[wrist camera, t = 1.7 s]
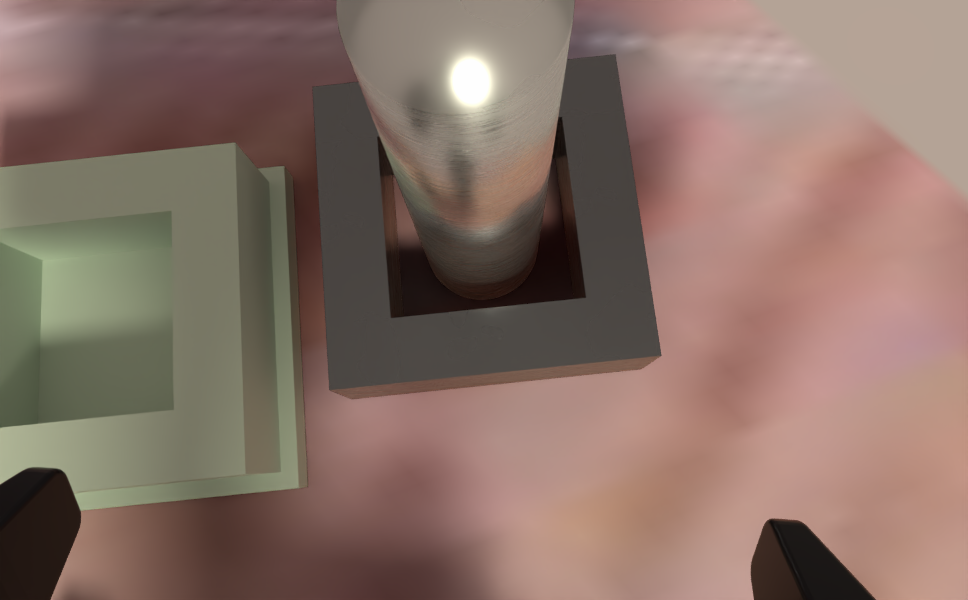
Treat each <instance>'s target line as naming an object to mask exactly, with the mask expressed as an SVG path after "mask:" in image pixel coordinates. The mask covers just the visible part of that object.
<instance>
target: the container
mask: <svg viewBox="0 0 968 600" xmlns="http://www.w3.org/2000/svg"><path fill="white" fill-rule="evenodd" d="M30 467H45V468H57V469H61V470H62V471H63V472H64V473H66V475H67V477H68V480H69V482H70V485H71V487H72V490H73V492H74V495H75V498H76V500H77V503H78V505H79V508H80V511H82V510H92V509H101V508H111V507H121V506H130V505H140V504H150V503H160V502H169V501H179V500H189V499H198V498H208V497H218V496H228V495H237V494H247V493H257V492H266V491H276V490H286V489H296V488H304V487H308V479H307V458H306V437H305V417H304V396H303V375H302V354H301V334H300V313H299V292H298V271H297V250H296V230H295V209H294V188H293V177H292V175H291V174H290V173H289V171H288V170H287V169H286V168H285V166H277V167H267V168H257V167H256V166H255V165H254V164H253V163H252V161H251V160H250V159H249V158H248V157H247V156H246V154H245V153H244V152H243V151H242V150H241V149H240V147H239V146H238V145H237V144H236V143H235V142H234V143H225V144H216V145H206V146H197V147H187V148H178V149H169V150H159V151H150V152H140V153H131V154H122V155H112V156H103V157H93V158H84V159H75V160H65V161H56V162H46V163H37V164H28V165H18V166H9V167H0V484H1V483H3V482H5V481H6V480H8V479H9V478H11V477H13V476H14V475H16V474H17V473H19V472H21V471H23V470H24V469H27V468H30Z"/></svg>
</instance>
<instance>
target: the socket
mask: <svg viewBox="0 0 968 600" xmlns="http://www.w3.org/2000/svg"><path fill="white" fill-rule="evenodd" d="M313 105H314V123H315V141H316V159H317V177H318V195H319V213H320V231H321V249H322V267H323V285H324V303H325V321H326V339H327V357H328V374H329V390H330V391H333V392H335V393H338V394H340V395H343V396H345V397H348V398H350V399H359V398H368V397H378V396H387V395H397V394H407V393H416V392H426V391H436V390H445V389H455V388H465V387H474V386H484V385H493V384H503V383H513V382H522V381H532V380H542V379H551V378H561V377H571V376H580V375H590V374H599V373H609V372H619V371H628V370H638V369H642V368H644V367H645V366H647V365H648V364H650V363H651V362H653V361H654V360H656V359H657V358H659V357H660V356H661V350H660V343H659V337H658V330H657V324H656V317H655V311H654V304H653V298H652V291H651V284H650V278H649V271H648V265H647V258H646V252H645V245H644V239H643V232H642V226H641V219H640V213H639V206H638V200H637V193H636V186H635V180H634V173H633V167H632V160H631V154H630V147H629V141H628V134H627V128H626V121H625V115H624V108H623V102H622V95H621V88H620V82H619V75H618V69H617V62H616V56H615V55H605V56H596V57H587V58H577V59H568V60H567V62H566V69H565V76H564V82H563V89H562V95H561V102H560V108H559V115H558V122H557V128H556V135H555V141H554V148H553V154H552V158H555V159H556V167H557V175H558V182H559V190H560V198H561V206H562V213H563V221H564V229H565V236H566V244H567V252H568V260H569V267H570V275H571V283H572V290H573V298H574V299H569V300H560V301H550V302H541V303H531V304H522V305H512V306H502V307H493V308H483V309H474V310H464V311H455V312H445V313H435V314H426V315H416V316H407V317H404V314H403V301H402V288H401V276H400V263H399V250H398V238H397V225H396V212H395V200H394V187H393V175H394V172H393V169H392V167H391V164H390V162H389V159H388V157H387V154H386V151H385V149H384V146H383V144H382V141H381V139H380V136H379V134H378V131H377V128H376V126H375V123H374V121H373V118H372V116H371V113H370V110H369V108H368V105H367V103H366V100H365V98H364V95H363V93H362V90H361V87H360V85H359V82H353V83H344V84H334V85H325V86H315V87H313Z"/></svg>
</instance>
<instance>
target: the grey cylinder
mask: <svg viewBox="0 0 968 600" xmlns="http://www.w3.org/2000/svg"><path fill="white" fill-rule="evenodd" d="M574 4H575V0H337V4H336V14H337V21H338V28H339V31H340V35H341V38H342V41H343V44H344V46H345V49H346V52H347V54H348V57H349V59H350V62H351V64H352V67H353V69H354V72H355V75H356V77H357V80H358V82H359V85H360V87H361V90H362V93H363V95H364V98H365V100H366V103H367V105H368V108H369V110H370V113H371V116H372V118H373V121H374V123H375V126H376V128H377V131H378V134H379V136H380V139H381V141H382V144H383V146H384V149H385V151H386V154H387V157H388V159H389V162H390V164H391V167H392V169H393V172H394V175H395V177H396V180H397V182H398V185H399V187H400V190H401V192H402V195H403V198H404V200H405V203H406V205H407V208H408V210H409V213H410V216H411V218H412V221H413V223H414V226H415V228H416V231H417V233H418V236H419V239H420V241H421V244H422V246H423V249H424V251H425V254H426V257H427V259H428V262H429V264H430V267H431V269H432V271H433V273H434V274H435V276H436V277H437V278H438V280H439V281H440V282H441V283H442V284H443V285H444V286H445V287H446V288H448V289H449V290H451V291H452V292H454V293H456V294H458V295H460V296H463V297H466V298H470V299H478V300H486V299H493V298H497V297H501V296H503V295H506V294H508V293H510V292H511V291H513V290H515V289H516V288H517V287H518V286H520V285H521V284H522V283H523V282H524V281H525V280H526V278H527V277H528V275H529V274H530V272H531V271H532V269H533V267H534V264H535V261H536V257H537V253H538V246H539V240H540V233H541V227H542V220H543V213H544V207H545V200H546V194H547V187H548V181H549V174H550V167H551V161H552V154H553V148H554V141H555V135H556V128H557V122H558V115H559V108H560V102H561V95H562V89H563V82H564V76H565V69H566V62H567V56H568V49H569V43H570V36H571V30H572V23H573V16H574Z"/></svg>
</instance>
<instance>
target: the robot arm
mask: <svg viewBox="0 0 968 600" xmlns="http://www.w3.org/2000/svg"><path fill="white" fill-rule="evenodd" d="M80 523H81V511H80V508H79V505H78V503H77V500H76V498H75V495H74V492H73V490H72V487H71V485H70V482H69V480H68V477H67V475H66V473H64V472H63V471H62V470H61V469H57V468H45V467H30V468H27V469H24V470H23V471H21V472H19V473H17V474H16V475H14V476H13V477H11V478H9V479H8V480H6V481H5V482H3V483H1V484H0V600H50V599H51V597H52V594H53V592H54V589H55V587H56V585H57V582H58V580H59V577H60V575H61V572H62V570H63V568H64V565H65V563H66V560H67V558H68V555H69V553H70V550H71V548H72V546H73V543H74V541H75V538H76V536H77V533H78V531H79V528H80ZM751 582H752V589H753V596H754V600H876V599H875V598H874V597H873V596H872V595H871V594H870V593H869V592H868V591H867V590H866V588H865V587H864V586H863V585H862V584H861V583H860V582H859V581H858V580H857V579H856V578H855V577H854V576H853V575H852V574H851V572H850V571H849V570H848V569H847V568H846V567H845V566H844V565H843V564H842V563H841V562H840V561H839V560H838V559H837V557H836V556H835V555H834V554H833V553H832V552H831V551H830V550H829V549H828V548H827V547H826V546H825V545H824V544H823V543H822V541H821V540H820V539H819V538H818V537H817V536H816V535H815V534H814V533H813V532H812V531H811V530H810V529H809V528H808V527H807V526H806V525H805V524H804V523H802V522H800V521H797V520H787V519H769V520H767V521H766V523H765V524H764V526H763V529H762V532H761V535H760V538H759V541H758V544H757V547H756V550H755V552H754V555H753V558H752V563H751Z"/></svg>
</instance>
